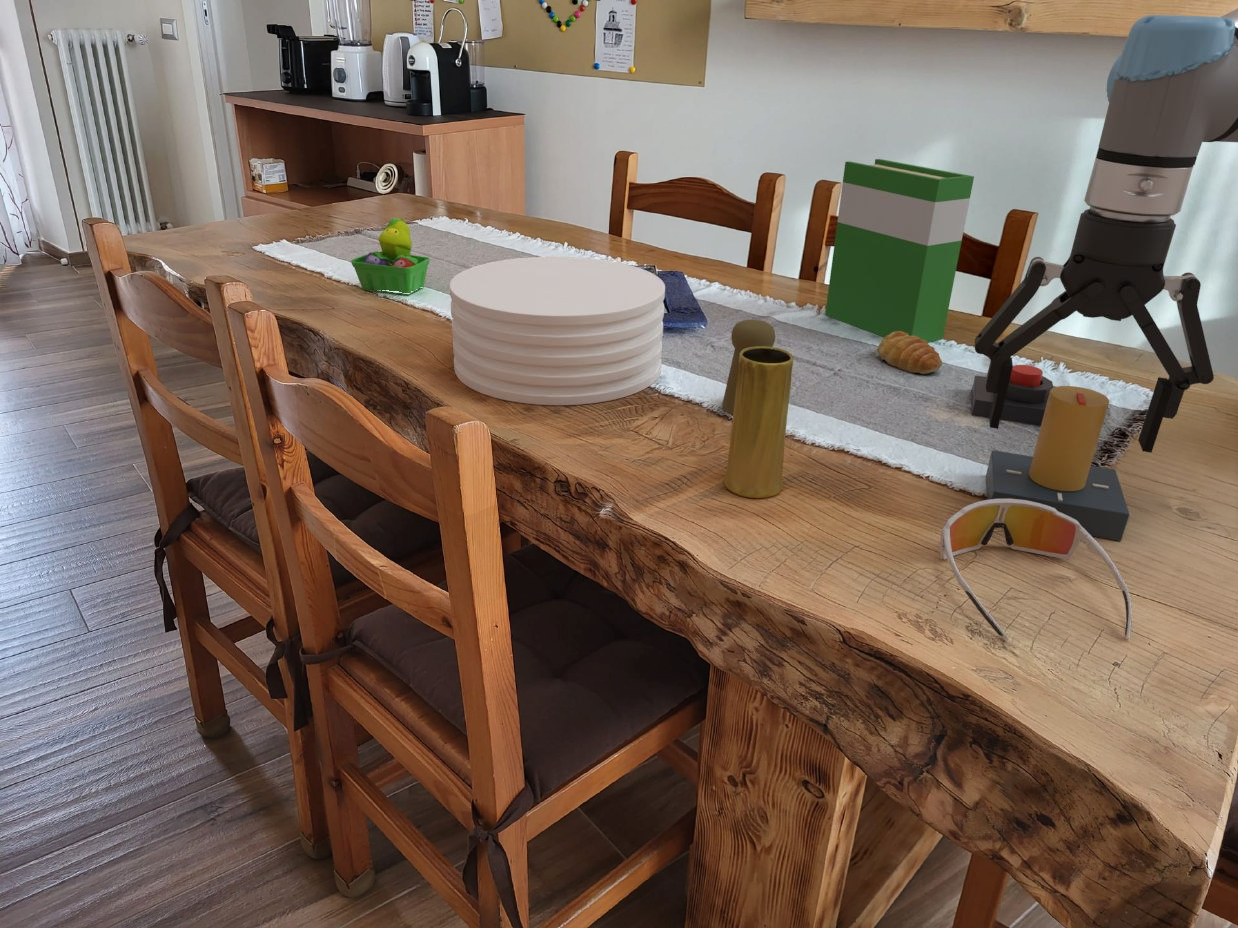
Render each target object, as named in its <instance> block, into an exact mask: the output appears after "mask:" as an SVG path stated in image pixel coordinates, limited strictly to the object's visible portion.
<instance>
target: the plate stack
mask: <svg viewBox="0 0 1238 928" xmlns="http://www.w3.org/2000/svg"><path fill="white" fill-rule="evenodd" d="M449 296H450V299H451V301H450V315H451V319H452V320H451V334H452V337H453V338H452V353H453V356H454V357H453V370H454V373H455V376H456V378H457V379H458V380H459V381H460V382H461V383H462V384H463V385H465V386H466V387H468V388H470V389H471V390H472V391H475V392H477V393H480V394H483V395H485V396H488V397H492V398H495V399H499V400H502V401H508V402H512V403H517V404H518V403H519V404H528V405H535V406H536V405H537V406H582V405H591V404H599V403H603V402H610V401H614V400H619V399H624V398H625V397H629V396H632V395H634V394H637V393H639V392H642V391H643V390H645V389H647V388H648V387H650V386H652V385H653V384H654V383H655V382H656V381H657V380H658V379H659V377H660V375H661V373H662V353H663V339H662V338H663V335H664V322H663V319H664V317H665V316H664V315H665V303H664V300H665V297H666V285H665V282H664V281H663V280H662V278H660V277H658V275H656V274H655V273H653V272H652V271H651V272H650V271H648V270H646V269H644V268H641V267H638V266H634V265H631V264H627V263H623V262H618V261H612V260H606V259H598V258H589V257H578V256H577V257H576V256H575V257H574V256H533V257H529V256H528V257H518V258H508V259H502V260H496V261H492V262H491V261H490V262H486V263H482V264H478V265H475V266H472V267H469V268H466V269H464V270H462V271H460V272H459V273H457V274H455V276H453V277H452V278H451V279H450V282H449Z"/></svg>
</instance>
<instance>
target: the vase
mask: <svg viewBox="0 0 1238 928" xmlns="http://www.w3.org/2000/svg"><path fill="white" fill-rule="evenodd" d="M794 360H795V359H794V355H793V354H792V353H791V352H789V351H788V350H786V349H783V348H780V347H775V346H773V347H768V346H756V347H749V348H745V349H743V350H742V351H741V352H740V356H739V365H738V374H737V384H736V394H735V403H734V411H733V415H732V422H731V428H730V436H729V437H730V438H729V447H728V456H727V464H726V471H725V474H724V477H723V484H724V486H725V488H726V489H727V490H729V492H731V493H733V494H735V495H738V496H740V497H745V498H749V499H764V498H771V497H774V496H776V495H778V494H779V493H780V492H782V490H783V489H784V482H783V469H784V458H785V447H786V446H785V445H786V433H787V423H788V413H789V412H788V411H789V404H790V395H791V388H792V387H791V386H792V376H793V375H792V372H793V366H794V365H793V364H794Z"/></svg>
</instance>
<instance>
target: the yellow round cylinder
mask: <svg viewBox="0 0 1238 928" xmlns="http://www.w3.org/2000/svg"><path fill="white" fill-rule="evenodd" d="M1109 404H1110V399H1109V398H1108V397H1107V396H1106V395H1105V394H1103V393H1101V392H1099V391H1096V390H1093V389H1090V388H1086V387H1081V386H1076V385H1075V386H1074V385H1059V386H1056V387H1054V388H1052V389H1051V390H1050V393H1049V397H1048V400H1047V404H1046V408H1045V412H1044V416H1043V420H1042V424H1041V426H1040V428H1039V432H1038V435H1037V439H1036V444H1035V448H1034V452H1033V455H1032V457H1033V459H1032V463H1031V467H1030V470H1029V476H1030V478H1031V479H1032V480H1033V481H1034V482H1036V483H1037V484H1039V485H1041V486H1044V487H1046V488H1050V489H1053V490H1058V491H1069V492H1070V491H1078V490H1081V489H1083V488H1084V487H1085V484H1086V480H1087V477H1088V474H1089V470H1090V467H1091V466H1092V463H1093V460H1094V456H1095V452H1096V449H1097V445H1098V443H1099V439H1100V435H1101V432H1102V430H1103V429H1102V428H1103V424H1104V421H1105V419H1106V415H1107V412H1108V407H1109Z"/></svg>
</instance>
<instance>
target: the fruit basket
mask: <svg viewBox="0 0 1238 928" xmlns="http://www.w3.org/2000/svg"><path fill="white" fill-rule="evenodd" d="M378 242H379V245H380V249H381V251H377V250H374V251H370V252H368V253H367V254H364V255H361V256H357V257H356V258H353V259H351V260H350V263H351V265H352V267H353V268H354V271H355V273H356V276H357V278H358V281H359V284H360V287H361V289H362V290H363V291H370V292H371V291H372V292H379V293H387V294H395V295H403V296H410V295H411V294H414V293H416V292H418V291H419V290H422V289H423V288H425V287H424V286H425V281H426V276H427V271H428V266H429V264H430V260H431V258H430V257H427V256H422V255H421V256H420V255H414V254H411V250H412V245H413V243H412V238H411V229H410V226H409V225H408V224H407V223H406V222H405V219H403V218H398V217H393V218H392V219H390V221H389V222H388V224H387V225H386V226H385V229H384V230H383V231H382V232H381V233H380V234H379V236H378ZM420 287H423V288H420ZM419 288H420V289H419ZM416 289H419V290H417V291H415V290H416ZM377 290H381V291H377ZM382 290H389V291H399V292H402V293H411V291H415V292H412V293H411V294H401V293H393V292H386V291H382Z"/></svg>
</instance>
